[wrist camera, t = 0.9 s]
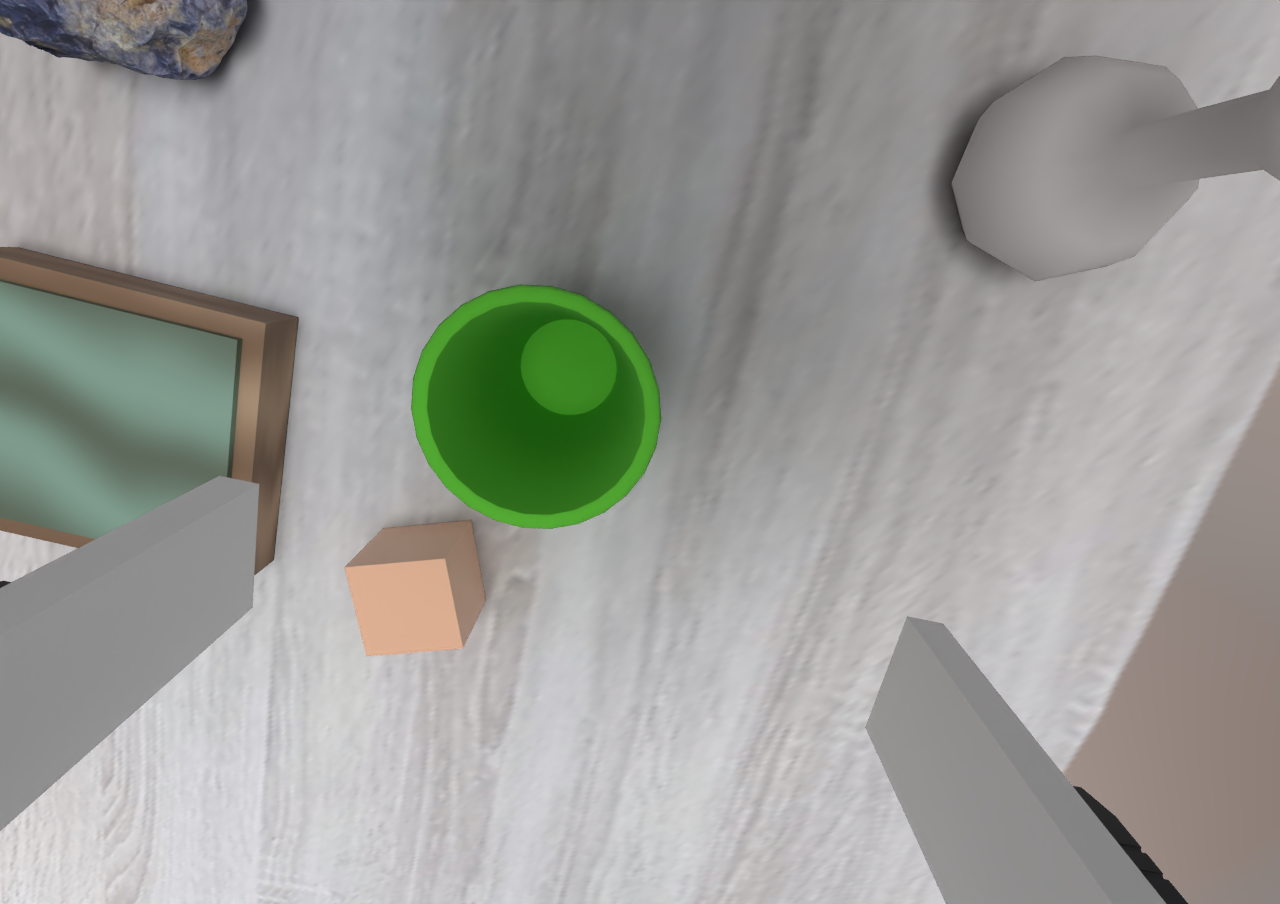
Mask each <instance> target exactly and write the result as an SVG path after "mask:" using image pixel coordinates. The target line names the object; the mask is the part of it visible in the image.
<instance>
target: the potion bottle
mask: <svg viewBox="0 0 1280 904" xmlns="http://www.w3.org/2000/svg"><path fill="white" fill-rule="evenodd" d="M1257 170H1265V171H1266V172H1268V173H1269V174H1271V175H1272V176H1274V177H1275V178H1277V179H1278V180H1280V76H1279V77H1278V79H1277V80H1276V82H1275V83H1274V84H1273V86H1272V87H1271V88H1270V90H1266V91H1263V92H1259V93H1255V94H1251V95H1248V96H1244V97H1240V98H1237V99H1233V100H1229V101H1225V102H1222V103H1218V104H1214V105H1211V106H1207V107H1203V108H1199V109H1198V108H1197V106H1196V105H1195V103H1194V102H1193V100H1192V98H1191V97H1190V95H1189V93H1188V92H1187V90H1186V89H1185V87H1184V85H1183V84H1182V82H1181V80H1180V79H1179V78H1178V77H1176V76H1175V75H1174V74H1173V73H1172V72H1171V71H1170V70H1169V69H1168V68H1167V67H1165V66H1158V65H1152V64H1145V63H1139V62H1133V61H1126V60H1120V59H1113V58H1107V57H1100V56H1079V57H1064V58H1062V59H1060V60H1059V61H1057V62H1056V63H1054V64H1053V65H1051V66H1049V67H1048V68H1046V69H1045V70H1043V71H1041V72H1040V73H1038V74H1037V75H1035V76H1034V77H1032V78H1030V79H1029V80H1027V81H1026V82H1024V83H1022V84H1021V85H1019V86H1018V87H1016V88H1015V89H1013V90H1011V91H1010V92H1008V93H1007V94H1005V95H1004V96H1002V97H1000V98H999V99H997V100H996V101H994V102H993V103H992V104H991V105H990V107H989V108H988V109H987V110H986V111H985V112H984V113H983V115H982V116H981V117H980V118H979V119H978V122H977V124H976V126H975V129H974V131H973V133H972V136H971V138H970V141H969V143H968V145H967V148H966V150H965V152H964V155H963V157H962V159H961V162H960V164H959V166H958V169H957V171H956V173H955V176H954V178H953V180H952V183H951V187H952V190H953V194H954V198H955V202H956V206H957V210H958V214H959V218H960V222H961V226H962V229H963V233H964V234H965V236H966V240H967V241H968V242H970V243H972V244H973V245H975V246H977V247H978V248H980V249H982V250H984V251H985V252H987V253H989V254H990V255H992V256H994V257H995V258H997V259H999V260H1000V261H1002V262H1004V263H1005V264H1007V265H1009V266H1010V267H1012V268H1014V269H1015V270H1017V271H1019V272H1020V273H1022V274H1024V275H1026V276H1027V277H1029V278H1031V279H1032V280H1034V281H1039V280H1044V279H1048V278H1053V277H1058V276H1063V275H1067V274H1072V273H1077V272H1082V271H1086V270H1091V269H1096V268H1101V267H1105V266H1109V265H1111V264H1114V263H1117V262H1120V261H1123V260H1125V259H1128V258H1131V257H1134V256H1135V255H1136V254H1137V253H1138V252H1139V251H1140V250H1141V249H1142V247H1143V246H1144V245H1145V244H1146V243H1147V242H1148V241H1149V240H1150V239H1151V238H1152V237H1153V236H1154V235H1155V234H1156V233H1157V232H1158V231H1159V230H1160V229H1161V228H1162V227H1163V226H1164V225H1165V223H1166V222H1167V221H1168V220H1169V219H1170V218H1171V217H1172V216H1173V215H1174V214H1175V213H1176V212H1177V211H1178V210H1179V209H1180V208H1181V207H1182V206H1183V205H1184V204H1185V203H1186V202H1187V201H1188V199H1189V198H1190V197H1191V196H1192V194H1193V193H1194V192H1195V191H1196V190H1197V188H1198V184H1199V179H1201V178H1208V177H1215V176H1222V175H1229V174H1236V173H1243V172H1250V171H1257Z"/></svg>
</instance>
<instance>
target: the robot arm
mask: <svg viewBox="0 0 1280 904" xmlns="http://www.w3.org/2000/svg"><path fill="white" fill-rule="evenodd" d="M258 497H259V484H257V483H252V482H247V481H242V480H237V479H233V478H228V477H223V476H218V477H216V478H214V479H212V480H210V481H208V482H206V483H204V484H203V485H201V486H199V487H197V488H195V489H193V490H191V491H189V492H187V493H185V494H183V495H181V496H179V497H177V498H175V499H173V500H171V501H169V502H167V503H165V504H164V505H162V506H160V507H158V508H156V509H154V510H152V511H150V512H148V513H146V514H144V515H142V516H140V517H138V518H136V519H134V520H132V521H130V522H128V523H126V524H124V525H123V526H121V527H119V528H117V529H115V530H113V531H111V532H109V533H107V534H105V535H103V536H101V537H99V538H97V539H95V540H93V541H91V542H89V543H87V544H85V545H83V546H82V547H80V548H78V549H76V550H74V551H72V552H70V553H68V554H66V555H64V556H62V557H60V558H58V559H56V560H54V561H52V562H50V563H48V564H46V565H44V566H42V567H41V568H39V569H37V570H35V571H33V572H31V573H29V574H27V575H25V576H23V577H21V578H19V579H17V580H15V581H13V582H7V581H1V582H0V831H1V830H2V829H3V828H4V827H5V826H7V825H8V824H9V823H10V822H11V821H12V820H13V819H14V818H16V817H17V816H18V815H19V814H20V813H21V812H22V811H23V810H25V809H26V808H27V807H28V806H29V805H30V804H31V803H32V802H34V801H35V800H36V799H37V798H38V797H39V796H40V795H42V794H43V793H44V792H45V791H46V790H47V789H48V788H49V787H51V786H52V785H53V784H54V783H55V782H56V781H57V780H58V779H60V778H61V777H62V776H63V775H64V774H65V773H66V772H67V771H69V770H70V769H71V768H72V767H73V766H74V765H75V764H76V763H78V762H79V761H80V760H81V759H82V758H83V757H84V756H86V755H87V754H88V753H89V752H90V751H91V750H92V749H93V748H95V747H96V746H97V745H98V744H99V743H100V742H101V741H102V740H104V739H105V738H106V737H107V736H108V735H109V734H110V733H111V732H113V731H114V730H115V729H116V728H117V727H118V726H119V725H120V724H122V723H123V722H124V721H125V720H126V719H127V718H128V717H130V716H131V715H132V714H133V713H134V712H135V711H136V710H137V709H139V708H140V707H141V706H142V705H143V704H144V703H145V702H146V701H148V700H149V699H150V698H151V697H152V696H153V695H154V694H155V693H157V692H158V691H159V690H160V689H161V688H162V687H163V686H164V685H166V684H167V683H168V682H169V681H170V680H171V679H172V678H174V677H175V676H176V675H177V674H178V673H179V672H180V671H181V670H183V669H184V668H185V667H186V666H187V665H188V664H189V663H190V662H192V661H193V660H194V659H195V658H196V657H197V656H198V655H199V654H201V653H202V652H203V651H204V650H205V649H206V648H207V647H208V646H210V645H211V644H212V643H213V642H214V641H215V640H216V639H217V638H219V637H220V636H221V635H222V634H223V633H224V632H225V631H227V630H228V629H229V628H230V627H231V626H232V625H233V624H234V623H236V622H237V621H238V620H239V619H240V618H241V617H242V616H243V615H245V614H246V613H247V612H248V611H249V610H250V609H251V608H252V605H253V587H254V569H255V551H256V533H257V515H258ZM865 728H866V730H867V732H868V734H869V736H870V738H871V741H872V743H873V745H874V747H875V749H876V752H877V754H878V756H879V758H880V760H881V763H882V765H883V767H884V769H885V771H886V773H887V776H888V778H889V780H890V782H891V784H892V787H893V789H894V791H895V793H896V795H897V798H898V800H899V802H900V804H901V806H902V808H903V811H904V813H905V815H906V817H907V819H908V822H909V824H910V826H911V828H912V830H913V832H914V835H915V837H916V839H917V841H918V843H919V846H920V848H921V850H922V852H923V854H924V857H925V859H926V861H927V863H928V865H929V867H930V870H931V872H932V874H933V876H934V878H935V881H936V883H937V885H938V887H939V889H940V892H941V894H942V896H943V898H944V900H945V902H946V904H1188V903H1187V902H1186V901H1185V899H1184V898H1183V897H1182V896H1181V895H1180V893H1179V892H1178V891H1177V890H1176V889H1175V887H1174V886H1173V885H1172V884H1171V883H1170V881H1169V880H1165V879H1163V876H1162V875H1163V873H1162V872H1161V871H1160V869H1159V868H1158V867H1157V866H1156V865H1155V863H1154V862H1153V861H1152V860H1151V858H1150V857H1149V856H1148V855H1147V854H1146V853H1142V852H1141V846H1140V845H1139V844H1138V843H1137V842H1136V840H1135V839H1134V838H1133V837H1132V836H1131V834H1130V833H1129V832H1128V831H1127V830H1126V828H1125V827H1124V826H1123V825H1122V824H1121V823H1120V821H1119V820H1118V819H1117V818H1116V816H1114V815H1113V814H1112V813H1111V812H1110V811H1109V810H1107V809H1106V808H1105V807H1104V806H1103V805H1101V804H1100V803H1099V802H1098V801H1097V800H1095V799H1094V798H1093V797H1092V796H1091V795H1090V794H1088V793H1087V792H1086V791H1085V790H1084V789H1082V788H1080V787H1075V786H1072V785H1071V784H1070V782H1069V781H1068V780H1067V779H1066V777H1065V776H1064V775H1063V773H1062V772H1061V771H1060V770H1059V768H1058V767H1057V766H1056V765H1055V763H1054V762H1053V761H1052V760H1051V758H1050V757H1049V756H1048V755H1047V753H1046V752H1045V751H1044V750H1043V748H1042V747H1041V746H1040V745H1039V743H1038V742H1037V741H1036V740H1035V738H1034V737H1033V736H1032V735H1031V733H1030V732H1029V731H1028V730H1027V728H1026V727H1025V726H1024V725H1023V723H1022V722H1021V721H1020V720H1019V718H1018V717H1017V716H1016V715H1015V713H1014V712H1013V711H1012V709H1011V708H1010V707H1009V706H1008V704H1007V703H1006V702H1005V701H1004V699H1003V698H1002V697H1001V696H1000V694H999V693H998V692H997V691H996V689H995V688H994V687H993V686H992V684H991V683H990V682H989V681H988V679H987V678H986V677H985V676H984V674H983V673H982V672H981V671H980V669H979V668H978V667H977V666H976V664H975V663H974V662H973V661H972V659H971V658H970V657H969V656H968V654H967V653H966V652H965V651H964V649H963V648H962V647H961V645H960V644H959V643H958V642H957V640H956V639H955V638H954V637H953V635H952V634H951V633H950V632H949V630H948V629H947V628H946V627H945V625H944V624H942V623H937V622H932V621H927V620H922V619H917V618H913V617H908V616H907V618H906V621H905V624H904V626H903V629H902V632H901V634H900V637H899V640H898V642H897V645H896V648H895V650H894V653H893V656H892V658H891V661H890V664H889V666H888V669H887V672H886V674H885V677H884V679H883V682H882V685H881V687H880V690H879V693H878V695H877V698H876V701H875V703H874V706H873V709H872V711H871V714H870V717H869V719H868V722H867V725H866V727H865Z"/></svg>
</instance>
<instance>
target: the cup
mask: <svg viewBox="0 0 1280 904" xmlns="http://www.w3.org/2000/svg"><path fill="white" fill-rule="evenodd" d="M411 409H412V415H413V420H414V426H415V431H416V437H417V439H418V441H419V444H420V446H421V448H422V450H423V453H424V455H425V457H426V459H427V462H428V464H429V465H430V467H431V468H432V469H433V471H434V472H435V473H436V475H437V476H438V477H439V479H440V480H441V481H442V483H443V484H444V485H445V487H446V488H447V489H448V490H450V491H451V492H452V493H453V494H454V495H456V496H457V497H458V498H459V499H460V500H461V501H463V502H464V503H465V504H466V505H467V506H469V507H470V508H472V509H474V510H476V511H478V512H480V513H482V514H484V515H486V516H488V517H490V518H491V519H493V520H496V521H500V522H504V523H507V524H511V525H515V526H518V527H522V528H544V529H553V528H558V527H563V526H569V525H574V524H579V523H581V522H584V521H586V520H588V519H590V518H593V517H595V516H597V515H599V514H602V513H604V512H606V511H607V510H608V509H609V508H611V507H612V506H613V505H615V504H616V503H617V502H619V501H620V500H621V499H623V498H624V497H625V496H626V495H627V494H628V493H629V492H630V491H631V489H632V488H633V487H634V486H635V484H636V483H637V482H638V481H639V479H640V478H641V477H642V475H643V474H644V473H645V471H646V468H647V466H648V464H649V462H650V460H651V457H652V455H653V453H654V451H655V448H656V445H657V439H658V433H659V428H660V422H661V410H660V397H659V388H658V385H657V382H656V379H655V376H654V372H653V369H652V366H651V363H650V360H649V359H648V357H647V355H646V354H645V352H644V351H643V349H642V347H641V346H640V344H639V343H638V341H637V340H636V338H635V336H634V335H633V333H632V332H631V331H630V330H629V329H628V328H627V327H625V326H624V325H623V324H622V323H621V322H620V321H619V320H618V319H617V318H616V317H615V316H614V315H613V314H612V313H611V312H610V311H608V310H607V309H605V308H603V307H601V306H600V305H598V304H596V303H595V302H593V301H591V300H590V299H588V298H586V297H584V296H583V295H580V294H576V293H573V292H570V291H566V290H563V289H559V288H556V287H553V286H537V285H516V286H512V287H507V288H502V289H497V290H493V291H489V292H487V293H485V294H483V295H481V296H479V297H477V298H475V299H473V300H471V301H469V302H467V303H465V304H463V305H461V306H460V307H459V308H458V309H457V310H455V311H454V312H453V313H452V314H451V315H450V316H449V317H448V318H447V319H445V320H444V321H443V322H442V323H441V324H440V325H439V326H438V327H437V329H436V330H435V332H434V333H433V335H432V337H431V338H430V340H429V341H428V343H427V344H426V346H425V347H424V349H423V350H422V353H421V356H420V359H419V362H418V365H417V368H416V371H415V374H414V378H413V389H412V404H411Z"/></svg>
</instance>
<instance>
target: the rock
mask: <svg viewBox="0 0 1280 904" xmlns="http://www.w3.org/2000/svg"><path fill="white" fill-rule="evenodd" d="M246 13H247V0H0V32H1V33H2V34H5V35H7V36H11V37H15V38H18V39H21V40H23V41H24V42H25V43H27V44H29V45H30V46H32V45H33V46H34V47H37V48H38V49H41V50H42V49H43V50H44V51H46V52H49V53H51V54H52V55H55V56H56V57H70V58H78V59H83V60H87V61H95V60H96V61H101V62H103V61H108V62H111V63H115V64H119V65H121V66H124V67H126V68H129V69H131V70H134V71H137V72H140V73H143V74H151V75H156V76H159V77H162V78H170V79H186V80H196V79H199V78H203V77H206V76H208V75H210V74H211V73H212V72H213V71H214V70H215V69H216V68H217V67H218V66H219V65H220V62H221V60H222V57H223V56H224V55H225V54H226V53H227V51H228V50H229V48H230V47H231V46H232V44H233V43H234V40H235V37H236V34H237V32H238V30H239V28H240V26H241V24H242V22H243V21H244V19H245V18H246Z"/></svg>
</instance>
